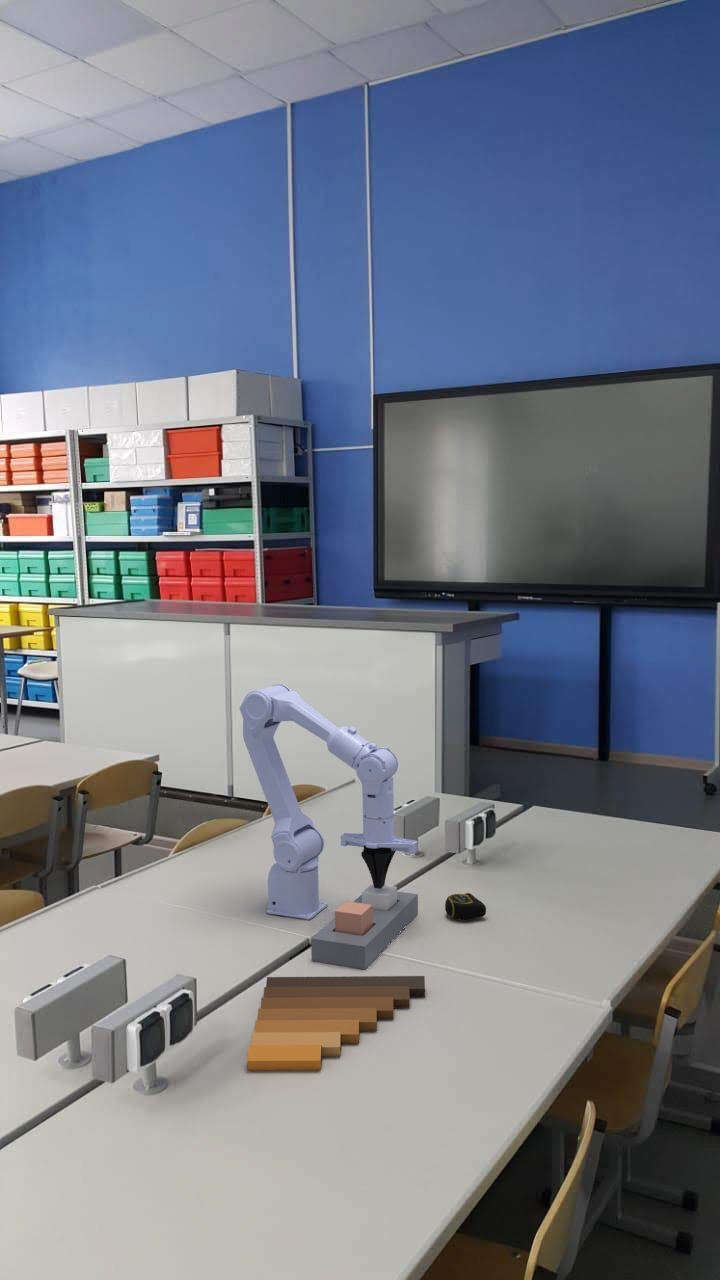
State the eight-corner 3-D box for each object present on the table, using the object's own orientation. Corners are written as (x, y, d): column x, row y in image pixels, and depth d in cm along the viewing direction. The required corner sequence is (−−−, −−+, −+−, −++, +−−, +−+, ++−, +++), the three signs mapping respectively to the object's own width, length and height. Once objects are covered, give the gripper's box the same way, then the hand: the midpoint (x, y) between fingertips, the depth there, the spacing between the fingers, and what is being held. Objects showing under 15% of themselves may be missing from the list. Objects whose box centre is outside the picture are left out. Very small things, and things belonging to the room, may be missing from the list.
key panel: (311, 960, 172) (311, 938, 172) (369, 907, 196) (369, 887, 195) (365, 969, 168) (365, 946, 168) (418, 914, 192) (417, 894, 191)
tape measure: (487, 921, 188) (487, 902, 188) (453, 926, 186) (453, 906, 186) (472, 908, 195) (472, 890, 194) (439, 913, 193) (439, 894, 192)
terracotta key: (335, 936, 175) (334, 911, 174) (347, 925, 179) (346, 901, 179) (361, 940, 173) (361, 914, 172) (372, 929, 177) (372, 904, 177)
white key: (362, 916, 186) (361, 892, 185) (372, 906, 190) (372, 883, 190) (387, 919, 184) (387, 895, 183) (397, 910, 189) (396, 886, 188)
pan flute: (424, 991, 161) (268, 992, 162) (424, 971, 161) (268, 972, 161) (431, 1074, 136) (247, 1075, 137) (431, 1050, 136) (247, 1051, 137)
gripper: (333, 817, 184) (334, 888, 186) (407, 824, 179) (408, 898, 180) (348, 807, 191) (350, 876, 192) (420, 814, 185) (421, 885, 187)
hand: (379, 886), depth 187 cm, fingers closed
